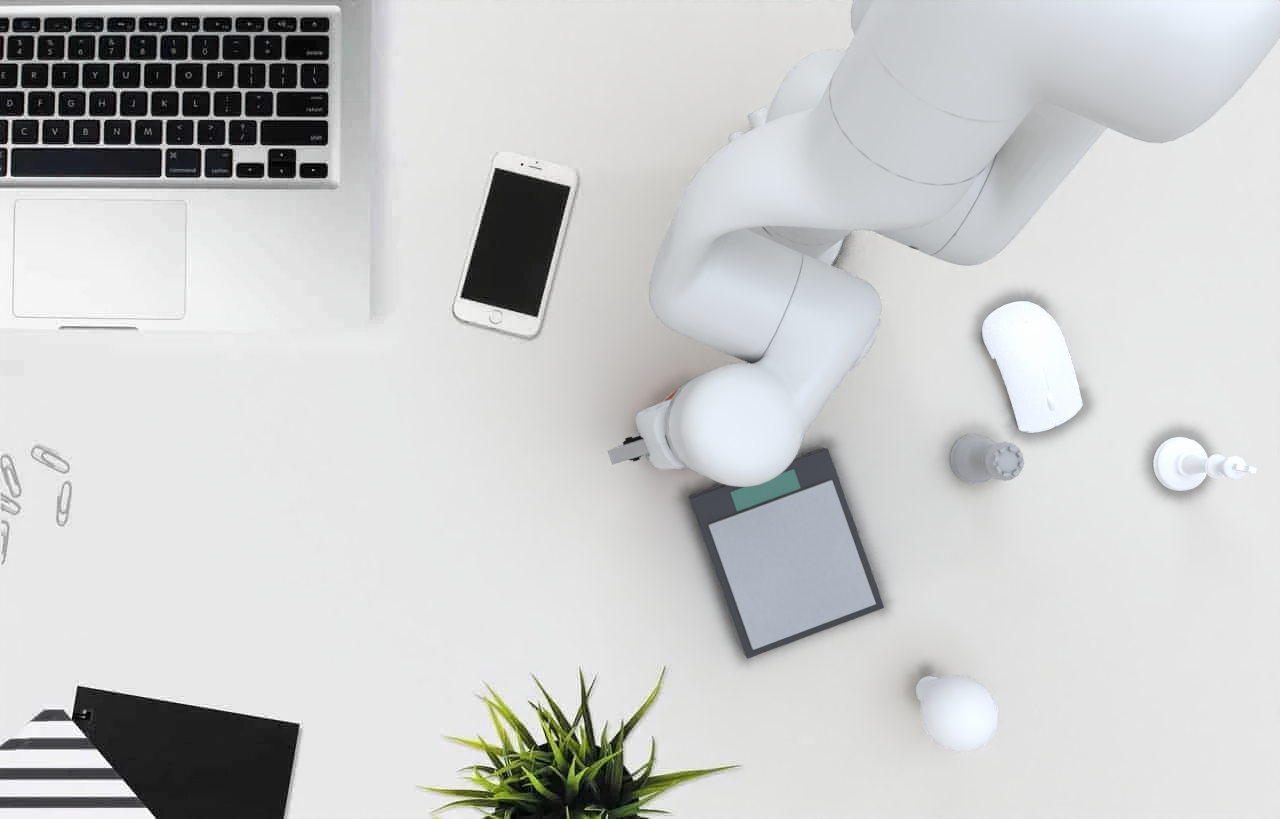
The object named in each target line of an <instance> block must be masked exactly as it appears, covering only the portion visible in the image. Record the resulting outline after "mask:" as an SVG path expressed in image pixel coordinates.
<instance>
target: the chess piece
mask: <svg viewBox="0 0 1280 819" xmlns="http://www.w3.org/2000/svg"><path fill="white" fill-rule="evenodd" d="M1152 466H1153V472H1154V475H1155V477H1156V479H1157V480H1158V482H1159V483H1160V484H1162V485H1163V486H1164V487H1165V488H1167V489H1169V490H1172V491H1175V492H1182V491H1190V490H1192V489H1195V488H1196V487H1198V486H1200V485H1201V484H1202V482H1204V480H1205V479H1206V477H1207V476H1209V477H1210V478H1211V479H1212V480H1213V479H1214V480H1221V479H1223V478H1227V479H1229V480H1232V481H1238V480H1242V478H1244V477H1245V475H1246V473H1249V474H1256V473H1257V467H1255V466H1251V465H1247V463H1246V461H1245V459H1244V458H1242V457H1241V456H1238V455H1231V456H1229V457H1225V456H1224V455H1222V454H1219V453H1217V454H1212V455H1210V456H1209V457H1208V454H1207V452H1206V450H1205V449H1204V446H1202V445H1201V444H1200V443H1198V442H1197V441H1196V440H1194V439H1191V438H1188V437H1183V436H1176V437H1175V436H1174V437H1171V438H1169V439H1167V440H1165V441H1163V442H1162V443H1161V444H1160V445H1159V446H1158V447H1157V449H1156V451H1155V453H1154V456H1153V461H1152Z"/></svg>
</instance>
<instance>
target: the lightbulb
mask: <svg viewBox="0 0 1280 819" xmlns="http://www.w3.org/2000/svg"><path fill="white" fill-rule="evenodd" d="M915 695H916V697H917V699H918V700H919V701H920V718H921V722H922V725H923V727H924V730H925V731H926V733H927V734H928V736H929V737H930V738H931V739H932V741H934V742H935V743H936V744H937V745H939V746H940V747H942V748H944V749H946V750H948V751H950V752H955V753H970V752H975V751H978V750H981V749H982V748H983V747H985V746H986V745H987V744H988V743H989V742H990V741H991V740H992V739H993V737H994V736H995V734H996V731H997V729H998V725H999V715H1000V714H999V709H998V704H997V702H996V700H995V698H994V696H993V695H992V693H991V691H990V690H989V689H988V688H987V687H986V685H984V684H983V683H982V682H980V681H978V680H977V679H975V678H973V677H971V676H968V675H964V674H949V675H944V676H942V677H940V678H938V677H936V676H932V675H927V676H924V677H922V678H920V679H919V680H918V681H917V684H916V685H915Z"/></svg>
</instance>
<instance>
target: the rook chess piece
mask: <svg viewBox="0 0 1280 819" xmlns="http://www.w3.org/2000/svg"><path fill="white" fill-rule="evenodd" d="M949 459H950V466H951V468H952V470H953V472H954V474H955V476H957V478H959V479H960V480H962V481H964V482H966V483H971V484H980V483H987V482H988V481H990V480H991V479H993V478H994V479H996V480H999V481H1003V482H1007V481H1011V480H1013V479H1015V478H1016V477H1018V476H1019V475H1020V473H1021V472H1022V471H1023V469H1024V466H1025V460H1024V459H1025V458H1024V454H1023V452H1022V450H1021V449H1020V447H1018V446H1017V445H1016V444H1014V443H1013V442H1009V441H1001V442H996V441H995V440H993V439H992V438H990V437H989V436H987V435H982V434H978V433H970V434H965V435H964V436H962V437H961V438H959V439H958V440H957V441H956V442H955V444H953V446H952V448H951V451H950V456H949Z"/></svg>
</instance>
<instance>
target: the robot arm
mask: <svg viewBox="0 0 1280 819" xmlns="http://www.w3.org/2000/svg"><path fill="white" fill-rule="evenodd" d="M850 27H851V28H850V29H851V30H852V33H853V38H852V39H851V41H850V43H849V45H848V47H847V48H846V49H845V50H844V49H836V48H835V49H833V48H832V49H831V48H830V49H829V48H828V49H827V48H826V49H822V50H818V51H814V52H812V53H810V54H808V55H807V56H805V57H803V58H802V59H800V61H799V60H798V62H797V63H796V64H795V65H794V66H793V67H792V68H791V69H790V71H789V72H788V73H787V74H786V76H785V78H784V79H783V80H782V82H781V83H780V85H779V86H778V88H777V90H776V91H775V94H774V97H773V98H772V101H771V103H770V106H769V108H768V107H767V106H766V107H761V108H758V109H755V110H753V111H751V112H750V113H748V114H747V116H746V117H747V120H748V122H749V125H750V128H751V129H750V130H749V131H747V132H743V130H738V131H736V132H733V133H731V134H729V135H728V136H727V138H728V141H729V142H728V143H727V144H726V145H724V146H722V148H720V149H719V150H717V152H715V153H714V154H713V155H712V156H711V157H710V158H708V160H707V161H706V162H705V163H704V164H703V165H702V166H701V168H699V169H698V171H697V172H696V174H695V175H694V176H693V178H692V179H691V181H690V182H689V184H688V186H687V187H686V189H685V191H684V193H683V195H682V197H681V199H680V201H679V203H678V206H677V208H676V210H675V213H674V215H673V218H672V220H671V222H670V224H669V227H668V229H667V232H666V234H665V236H664V238H663V240H662V243H661V246H660V248H659V250H658V253H657V254H656V258H655V261H654V263H653V267H652V271H651V274H650V279H649V283H648V299H649V304H650V307H651V311H652V312H653V314H654V316H655V318H657V319H658V321H660V323H662V324H663V325H664V326H665V327H667V328H668V329H670V330H671V331H673V332H675V333H677V334H680V335H682V336H684V337H686V338H689V339H691V340H693V341H695V342H696V343H697V342H698V343H700V344H702V345H704V346H706V347H709V348H712V349H715V350H717V351H719V352H722V353H724V354H726V355H729V356H731V357H733V358H736V359H738V360H741V361H743V362H739V363H738V362H737V363H731V364H726V365H725V364H724V365H722V366H719V367H717V368H714V369H712V370H709V371H706V372H704V373H702V374H700V375H697V376H695V377H694V378H691V379H689V380H688V381H687V382H685V383H684V384H683V385H682V386H680V387H679V388H678V389H679V390H678V391H677V392H676V393H675V395H674V396H673V397H672V399H670V400H667V401H665V402H662V401H661V402H662V403H661V402H659V403H657V404H654V405H651V406H649V407H646V408H644V409H642V410H640V411H639V412H637V414H636V417H635V418H634V419H635V423H636V427H637V429H636V433H637V436H627V437H626V438H624V440H623V441H622V445H621V444H620V445H618V446H616V447H613V448H611V449H608V450H607V454H608V457H609V460H610V463H611V465H612V466H613V465H616V464H620V463H623V462H627V461H631V462H633V463H634V462H637V461H639V460H641V458H642V457H644V456H645V458H646V460H647V461H649V462H650V464H651V465H652V466H653V467H654V468H656V469H659V470H676V469H677V470H681V469H683V468H684V469H685V468H687V469H689V470H690V471H691V472H694V473H696V474H698V475H701V476H703V477H705V478H708V479H710V480H712V481H715V482H717V483H719V484H721V485H722V484H725V485H730V486H738V487H748V486H755V485H759V484H762V483H765V482H767V481H770V480H772V479H773V478H775V477H777V476H778V475H780V474H781V473H782V472H783V471H784V470H785V469H787V467H788V466H789V465H790V464H791V463H792V461H793V460H794V458H797V455H798V453H799V451H800V448H801V446H802V442H803V438H804V436H805V435H806V433H807V432H808V430H809V429H810V427H811V426H812V424H813V423H814V421H815V420H816V419H817V417H818V416H819V414H820V413H821V412H822V410H823V409H824V407H825V406H826V404H827V403H828V401H829V400H830V398H831V397H832V396H833V394H834V393H835V391H836V390H837V388H838V387H839V386H840V384H842V382H843V380H844V379H845V378H846V376H847V374H848V373H850V372H851V371H853V370H855V368H857V366H858V365H860V364H861V362H862V361H863V360H864V358H866V356H867V354H868V352H870V349H871V348H872V346H873V345H874V342H875V340H876V338H877V336H878V334H879V330H880V327H881V313H882V300H881V296H880V294H879V292H878V291H877V289H876V288H875V287H874V286H873V284H871V283H869V282H868V281H867V280H864V279H863V278H861V277H859V276H857V275H854V274H853V273H850V272H848V271H845V270H843V269H841V268H839V267H836V266H834V265H832V264H833V263H834V261H835V260H836V259H837V257H838V255H839V253H840V251H841V248H842V246H843V243H844V239H845V238H846V237H848V235H850V234H851V233H852V232H854V231H867V232H874V233H877V234H878V235H880V236H883V237H885V238H887V239H889V240H892V241H895V242H897V243H899V244H901V245H903V246H906V247H909V248H911V249H913V250H916V251H918V252H920V253H923V254H925V255H928V256H929V257H933V258H936V259H938V260H940V261H944V262H946V263H949V264H953V265H957V266H963V267H972V266H979V265H981V264H984V263H987V262H988V261H990V260H992V259H993V258H995V257H996V256H998V255H999V254H1000V253H1001V252H1002V251H1003V250H1005V249H1006V248H1007V247H1008V246H1009V245H1010V244H1011V243H1012V241H1014V239H1015V238H1016V237H1017V236H1018V235H1019V233H1021V231H1022V230H1023V229H1024V228H1025V227H1026V226H1027V225H1028V223H1029V222H1030V221H1031V220H1032V219H1033V217H1034V216H1035V215H1036V213H1037V212H1038V211H1039V210H1040V209H1041V208H1042V206H1044V204H1045V203H1046V202H1047V201H1048V200H1049V198H1050V197H1051V196H1052V195H1053V193H1054V192H1055V191H1056V190H1057V189H1058V188H1059V186H1060V185H1061V184H1062V183H1063V182H1064V180H1065V179H1066V178H1067V177H1068V175H1070V173H1071V172H1072V171H1073V170H1074V168H1075V167H1076V166H1077V165H1078V164H1079V163H1080V162H1081V160H1082V159H1083V158H1084V157H1085V155H1086V154H1087V153H1088V152H1089V151H1090V150H1091V149H1092V147H1093V146H1094V145H1095V144H1096V142H1097V141H1098V140H1099V139H1100V138H1101V136H1102V135H1103V134H1104V133H1105V132H1106V131H1107V129H1110V130H1112V131H1115V132H1117V133H1120V134H1122V135H1124V136H1126V137H1128V138H1133V139H1134V140H1136V141H1141V142H1145V143H1150V144H1164V143H1165V144H1166V143H1169V142H1170V143H1171V142H1174V141H1176V140H1178V139H1180V138H1182V137H1184V136H1187V135H1189V134H1191V133H1193V132H1195V130H1198V129H1199V128H1200V127H1201V126H1203V125H1204V124H1205V123H1207V122H1208V121H1209V120H1210V119H1211V118H1212V117H1213V116H1215V115H1216V114H1217V113H1218V112H1220V110H1221V109H1222V108H1223V107H1224V106H1225V105H1226V104H1228V102H1230V100H1232V98H1233V97H1234V96H1236V94H1237V93H1238V92H1239V91H1240V90H1241V89H1242V87H1243V86H1244V85H1245V84H1246V82H1247V81H1248V80H1249V79H1250V78H1251V76H1253V74H1254V73H1255V72H1256V70H1258V68H1259V66H1260V65H1261V64H1262V63H1263V61H1264V60H1265V59H1266V58H1267V56H1268V55H1269V53H1270V52H1271V51H1272V49H1273V48H1274V46H1275V45H1276V44H1277V43H1278V41H1279V40H1280V0H852V2H851V8H850ZM745 362H746V363H745Z"/></svg>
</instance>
